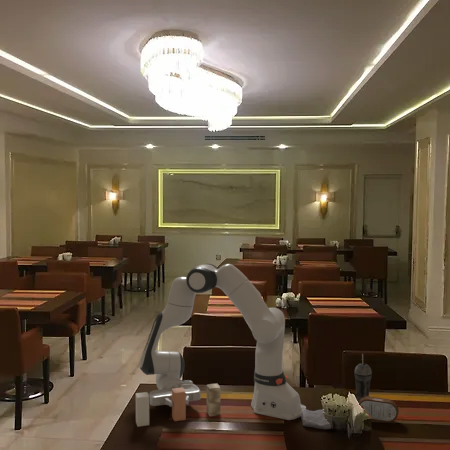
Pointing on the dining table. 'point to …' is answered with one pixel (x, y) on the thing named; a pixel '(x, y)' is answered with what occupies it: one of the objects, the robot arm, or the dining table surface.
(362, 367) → the beverage cup
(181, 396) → the terracotta block
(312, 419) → the stone block
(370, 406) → the tin
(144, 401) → the white block
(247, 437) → the dining table surface
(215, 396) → the birch block
